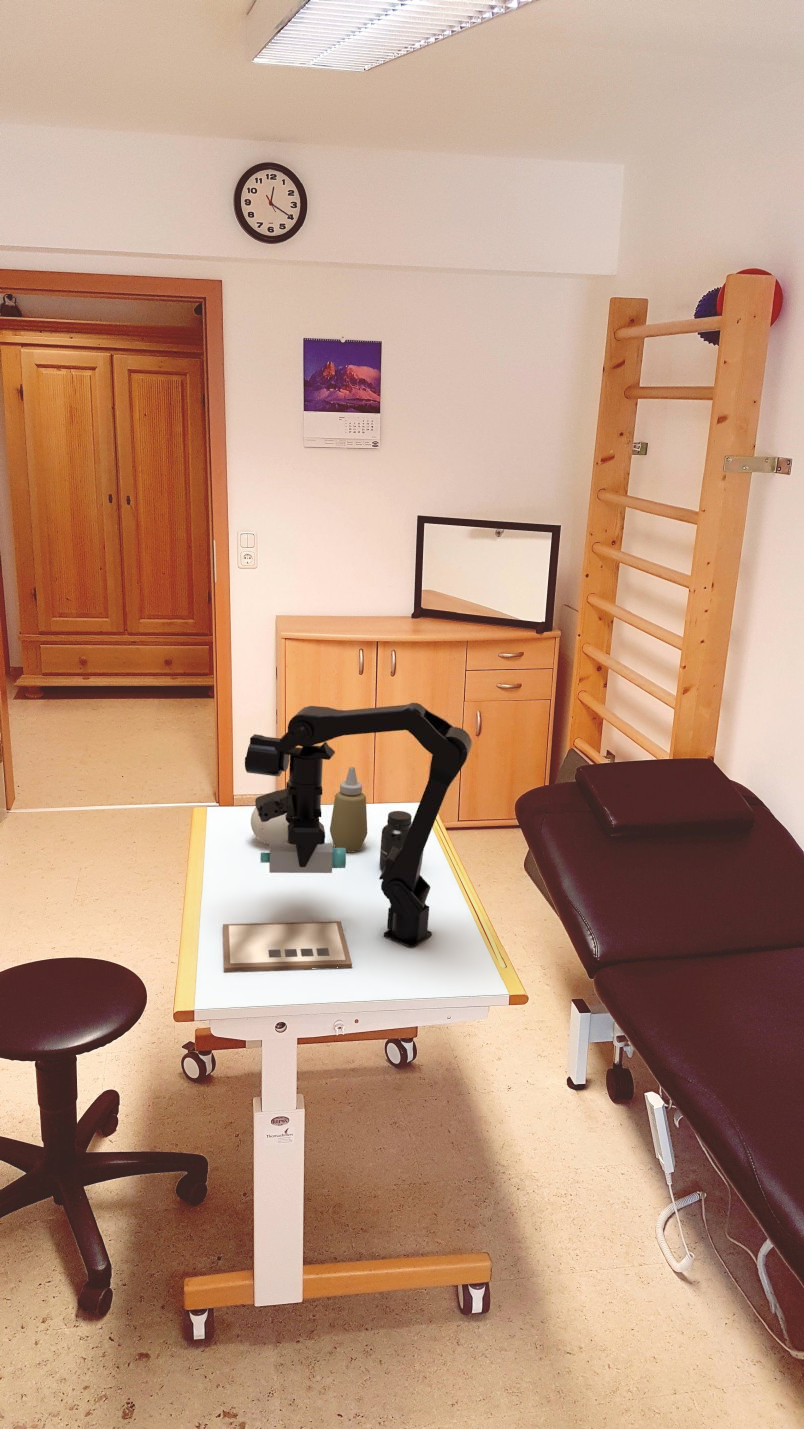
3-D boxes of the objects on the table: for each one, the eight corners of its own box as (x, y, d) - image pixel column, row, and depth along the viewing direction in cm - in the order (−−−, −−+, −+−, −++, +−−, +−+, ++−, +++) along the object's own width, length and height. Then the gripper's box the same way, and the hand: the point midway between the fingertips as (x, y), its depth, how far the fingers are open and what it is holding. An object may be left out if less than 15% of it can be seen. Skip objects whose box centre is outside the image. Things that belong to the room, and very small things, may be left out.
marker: (343, 863, 185) (344, 843, 184) (345, 873, 181) (346, 852, 180) (260, 863, 183) (260, 842, 181) (260, 872, 179) (261, 851, 178)
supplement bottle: (373, 870, 207) (376, 815, 204) (388, 859, 213) (392, 806, 210) (402, 879, 204) (406, 823, 201) (418, 867, 210) (422, 813, 207)
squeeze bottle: (324, 841, 220) (328, 762, 215) (359, 838, 223) (364, 760, 218) (335, 856, 213) (339, 775, 208) (371, 853, 215) (376, 773, 211)
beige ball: (241, 846, 215) (242, 801, 212) (265, 830, 224) (266, 787, 221) (282, 856, 211) (284, 811, 208) (305, 839, 220) (307, 796, 217)
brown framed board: (340, 925, 184) (341, 919, 183) (351, 967, 169) (352, 962, 169) (222, 928, 180) (223, 922, 179) (224, 972, 165) (224, 966, 165)
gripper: (258, 761, 185) (255, 840, 189) (259, 797, 167) (256, 884, 171) (319, 762, 186) (315, 841, 191) (327, 798, 169) (322, 884, 173)
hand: (301, 861), depth 181 cm, fingers closed on marker, 4 cm apart
